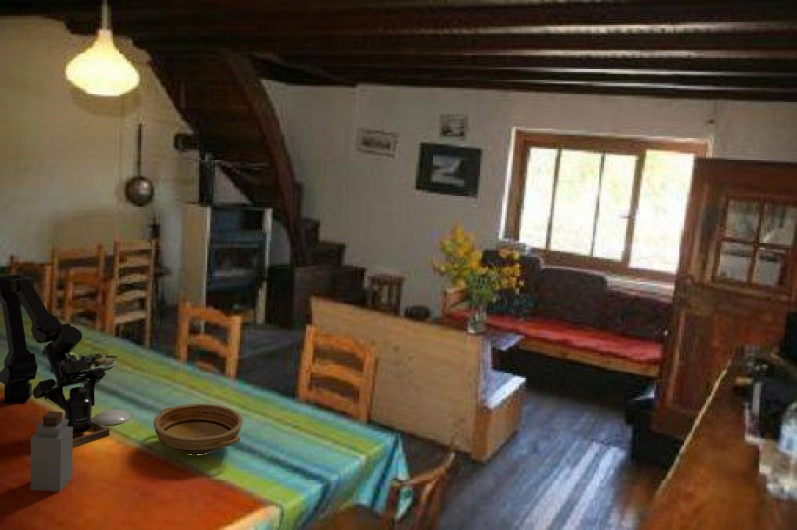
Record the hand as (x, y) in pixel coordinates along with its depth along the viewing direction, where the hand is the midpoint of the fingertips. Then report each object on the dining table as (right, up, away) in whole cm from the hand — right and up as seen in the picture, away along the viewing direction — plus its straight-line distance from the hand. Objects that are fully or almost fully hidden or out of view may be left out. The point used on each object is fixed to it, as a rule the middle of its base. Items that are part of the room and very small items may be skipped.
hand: (81, 409), depth 181 cm
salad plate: (-25, +3, +54) cm, 60 cm away
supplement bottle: (-2, -6, +2) cm, 7 cm away
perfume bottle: (+4, -13, -24) cm, 27 cm away
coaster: (+2, -6, +14) cm, 16 cm away
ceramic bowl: (+32, -11, +3) cm, 34 cm away
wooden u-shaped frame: (-2, -8, +2) cm, 8 cm away
